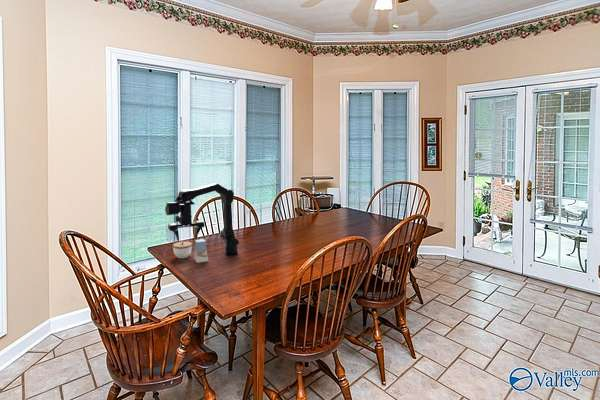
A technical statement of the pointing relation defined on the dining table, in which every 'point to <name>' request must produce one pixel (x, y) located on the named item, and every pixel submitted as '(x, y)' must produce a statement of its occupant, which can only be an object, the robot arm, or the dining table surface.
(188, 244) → the lidded jar
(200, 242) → the blue block
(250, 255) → the dining table surface
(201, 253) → the slab top
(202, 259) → the slab bottom
